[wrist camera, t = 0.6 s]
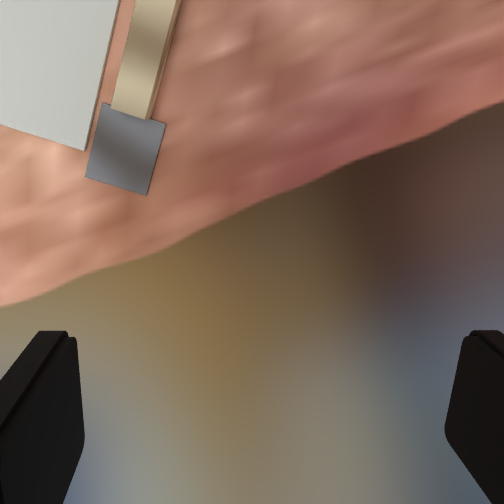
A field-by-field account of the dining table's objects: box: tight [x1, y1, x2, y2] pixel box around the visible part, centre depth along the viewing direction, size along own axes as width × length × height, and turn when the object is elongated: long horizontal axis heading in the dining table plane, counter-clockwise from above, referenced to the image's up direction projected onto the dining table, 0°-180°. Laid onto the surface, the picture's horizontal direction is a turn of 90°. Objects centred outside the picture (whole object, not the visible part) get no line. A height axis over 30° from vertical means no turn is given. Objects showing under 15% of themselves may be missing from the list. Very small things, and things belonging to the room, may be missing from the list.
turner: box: [85, 0, 182, 196], centre depth 33 cm, size 16×5×4 cm, turn 161°
